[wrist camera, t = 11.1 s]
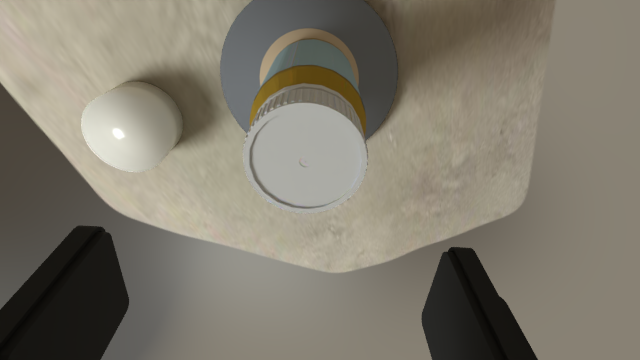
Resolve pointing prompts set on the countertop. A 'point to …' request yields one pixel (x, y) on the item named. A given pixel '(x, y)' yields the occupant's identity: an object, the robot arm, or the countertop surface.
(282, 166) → the bottle
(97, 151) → the white smooth round part
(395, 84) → the disc
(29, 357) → the robot arm
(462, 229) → the countertop surface
